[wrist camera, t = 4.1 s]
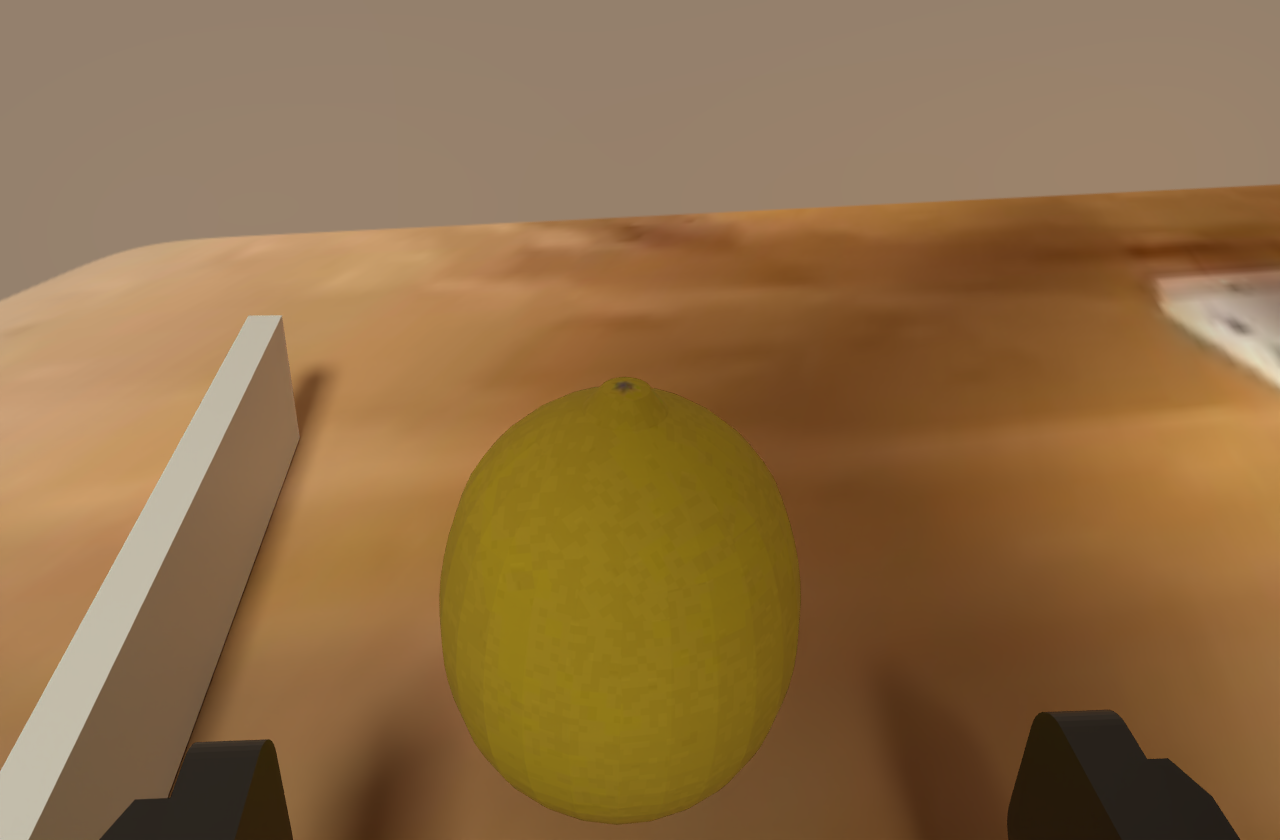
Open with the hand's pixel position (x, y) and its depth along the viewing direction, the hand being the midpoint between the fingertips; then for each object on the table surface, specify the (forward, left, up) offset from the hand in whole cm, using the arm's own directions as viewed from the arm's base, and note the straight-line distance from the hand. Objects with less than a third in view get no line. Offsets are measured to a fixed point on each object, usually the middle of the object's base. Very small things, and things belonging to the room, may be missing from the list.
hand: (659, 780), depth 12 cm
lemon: (0, -5, -6) cm, 8 cm away
